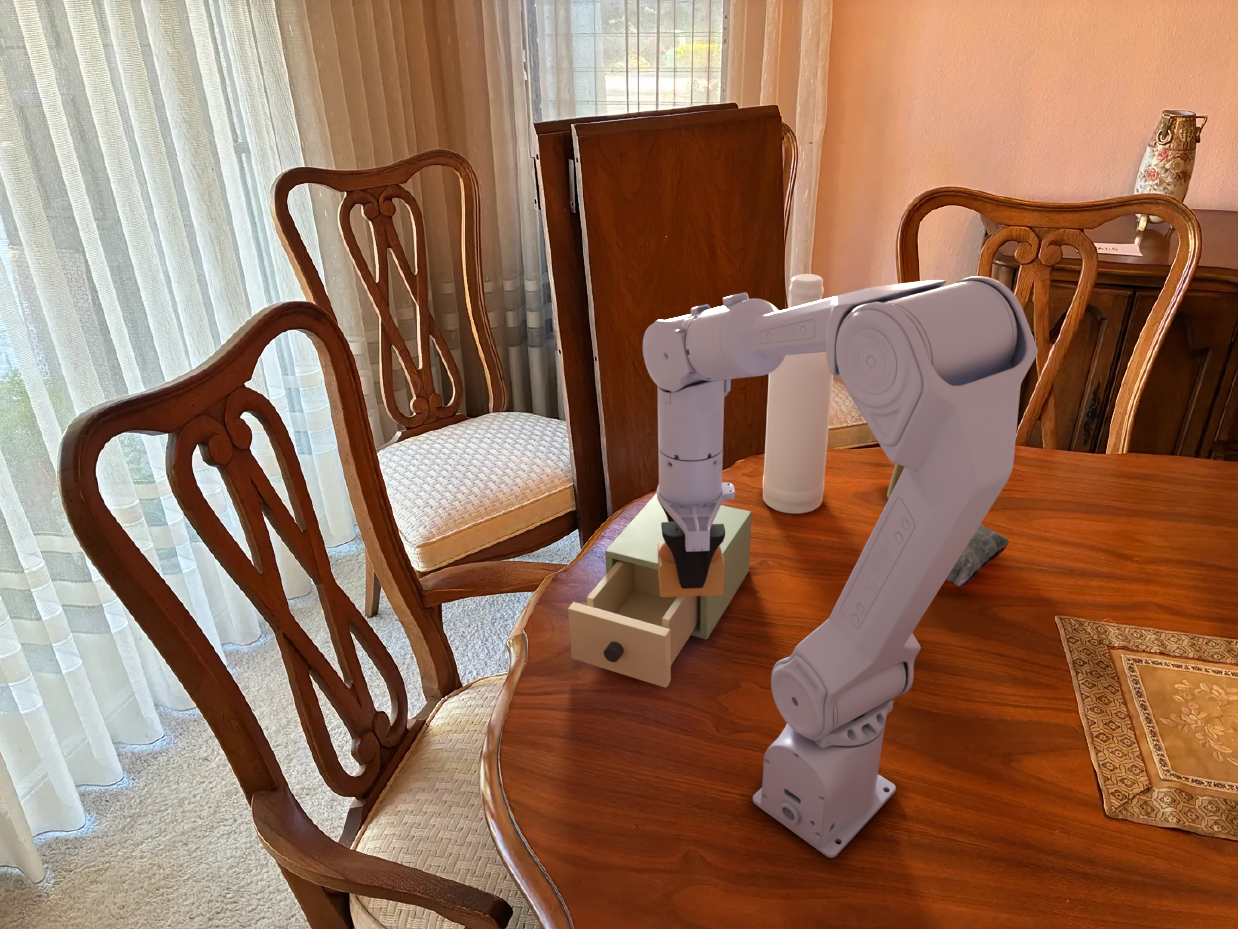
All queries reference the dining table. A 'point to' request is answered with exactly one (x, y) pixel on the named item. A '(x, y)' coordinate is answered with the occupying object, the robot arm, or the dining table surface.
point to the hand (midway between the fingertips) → (689, 572)
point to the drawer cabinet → (646, 534)
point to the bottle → (798, 420)
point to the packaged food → (977, 555)
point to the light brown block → (671, 582)
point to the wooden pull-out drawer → (632, 625)
